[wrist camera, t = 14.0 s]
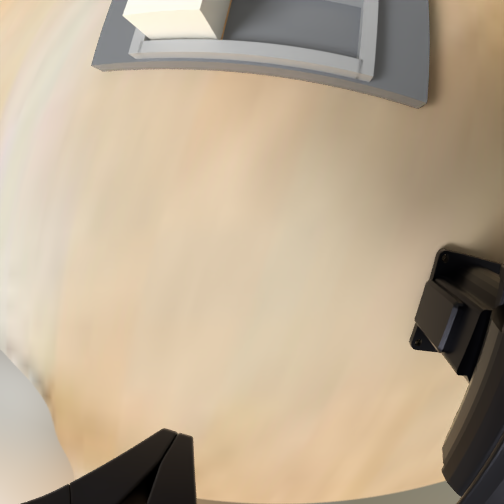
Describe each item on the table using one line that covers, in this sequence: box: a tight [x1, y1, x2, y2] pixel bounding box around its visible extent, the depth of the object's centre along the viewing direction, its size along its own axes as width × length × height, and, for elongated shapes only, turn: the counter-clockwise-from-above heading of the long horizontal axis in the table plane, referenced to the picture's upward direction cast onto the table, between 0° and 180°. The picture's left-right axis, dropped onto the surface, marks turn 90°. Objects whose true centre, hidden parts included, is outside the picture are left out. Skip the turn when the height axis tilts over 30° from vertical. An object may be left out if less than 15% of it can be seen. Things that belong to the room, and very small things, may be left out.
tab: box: [122, 0, 231, 40], centre depth 12 cm, size 4×4×4 cm
